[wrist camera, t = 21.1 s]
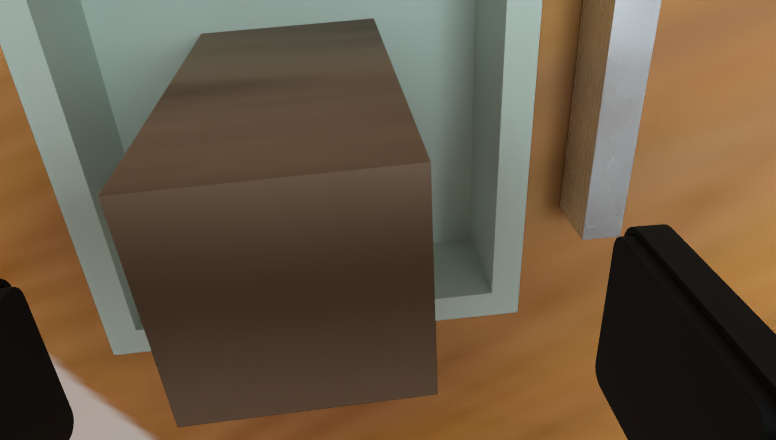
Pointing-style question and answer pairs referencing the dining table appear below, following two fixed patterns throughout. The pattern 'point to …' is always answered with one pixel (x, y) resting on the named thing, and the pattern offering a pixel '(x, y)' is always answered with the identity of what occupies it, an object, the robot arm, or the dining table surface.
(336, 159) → the stop block
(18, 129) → the dining table surface
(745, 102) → the dining table surface
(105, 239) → the tray
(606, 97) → the piston rail
